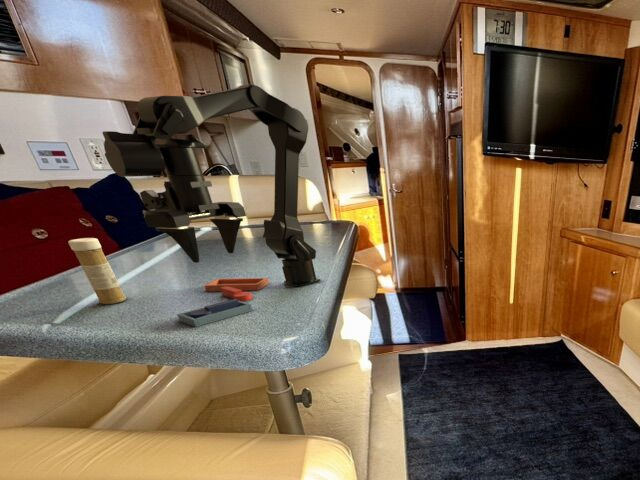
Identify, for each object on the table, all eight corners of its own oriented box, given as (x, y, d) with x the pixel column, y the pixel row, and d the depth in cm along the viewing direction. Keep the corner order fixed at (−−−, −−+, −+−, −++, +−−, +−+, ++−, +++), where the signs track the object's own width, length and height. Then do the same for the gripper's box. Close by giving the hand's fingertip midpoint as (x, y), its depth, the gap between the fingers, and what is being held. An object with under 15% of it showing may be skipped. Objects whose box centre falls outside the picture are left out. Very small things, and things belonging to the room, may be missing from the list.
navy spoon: (234, 306, 86) (231, 298, 85) (243, 308, 85) (240, 300, 84) (188, 318, 79) (184, 310, 79) (197, 321, 78) (194, 313, 77)
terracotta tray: (269, 283, 103) (267, 277, 103) (258, 290, 98) (257, 284, 97) (219, 284, 102) (217, 278, 102) (206, 291, 97) (203, 285, 96)
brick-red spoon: (218, 296, 94) (215, 288, 93) (233, 292, 96) (230, 285, 95) (240, 302, 90) (237, 294, 89) (255, 298, 92) (253, 290, 92)
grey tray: (236, 305, 88) (234, 299, 87) (252, 310, 85) (250, 304, 85) (179, 320, 79) (176, 314, 79) (195, 326, 77) (193, 320, 76)
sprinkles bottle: (110, 298, 91) (79, 237, 85) (131, 298, 92) (103, 237, 85) (94, 305, 87) (60, 241, 81) (116, 304, 88) (85, 241, 81)
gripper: (189, 173, 86) (215, 247, 94) (100, 176, 70) (140, 266, 78) (235, 174, 85) (258, 249, 92) (154, 177, 69) (190, 268, 76)
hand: (214, 257), depth 85 cm, fingers open, 9 cm apart
